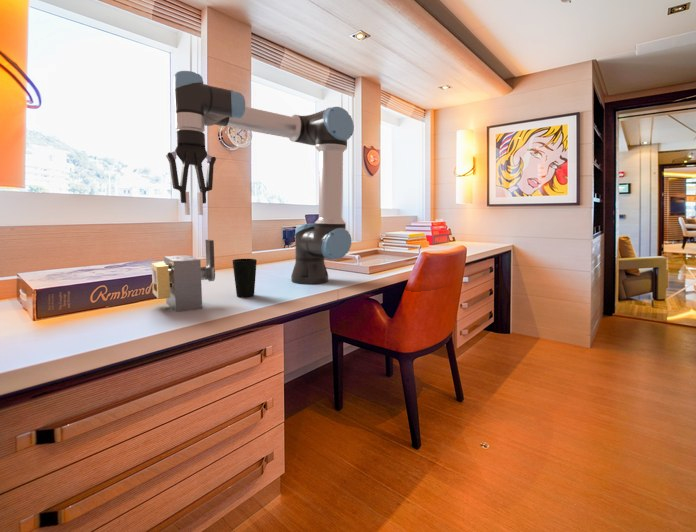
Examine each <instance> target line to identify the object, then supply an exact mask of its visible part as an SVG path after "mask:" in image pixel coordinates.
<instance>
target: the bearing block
mask: <svg viewBox="0 0 696 532" xmlns="http://www.w3.org/2000/svg"><path fill="white" fill-rule="evenodd" d="M163 263H165V264H166V265H168V266H169V269H171V276H172V283H170V298H165V299H166V301H165V302H166V303H167V304H168V305H169V306H170V307H171V308H172V310H174V311H175V313H177V312H183V311H191V310H193V311H194V310H198V309H203V292H202V290H203V289H202V280H201V267H202V266H201V259H199V258H196V257H194V256H192V255H189V254H188V255H187V254H183V255H164V256H163Z"/></svg>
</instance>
